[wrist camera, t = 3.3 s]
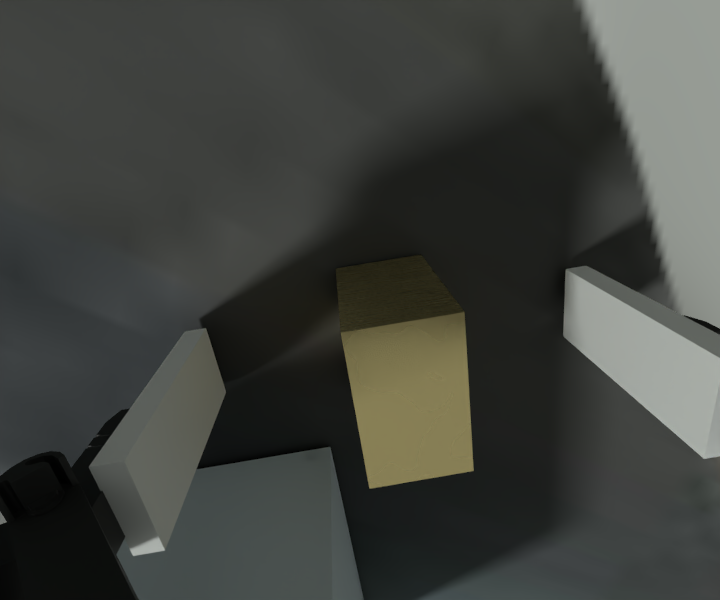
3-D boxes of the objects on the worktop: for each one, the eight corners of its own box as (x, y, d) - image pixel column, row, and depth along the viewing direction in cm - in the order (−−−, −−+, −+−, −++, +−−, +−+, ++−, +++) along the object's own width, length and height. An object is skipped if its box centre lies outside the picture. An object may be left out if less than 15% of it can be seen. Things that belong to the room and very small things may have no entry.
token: (335, 268, 15) (340, 332, 10) (420, 254, 15) (464, 312, 10) (357, 388, 17) (369, 488, 12) (432, 375, 17) (473, 470, 12)
